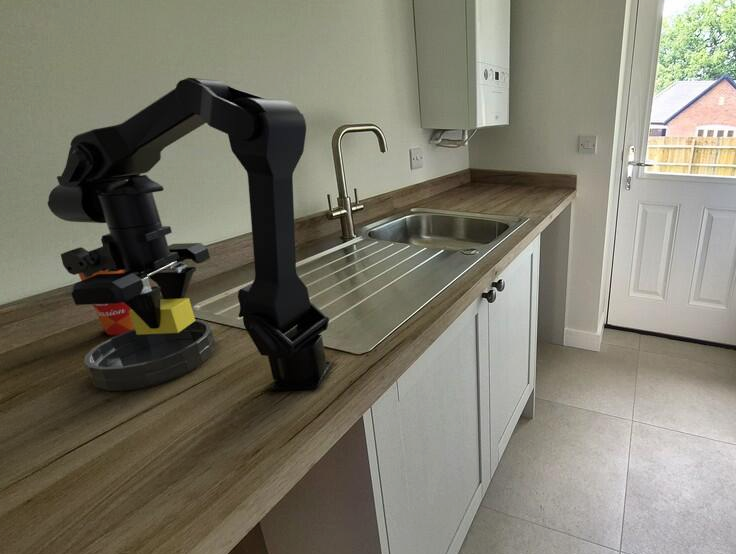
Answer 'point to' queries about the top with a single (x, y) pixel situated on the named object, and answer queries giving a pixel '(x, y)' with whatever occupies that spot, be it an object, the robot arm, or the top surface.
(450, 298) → the top surface
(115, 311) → the paper cup
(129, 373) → the pan
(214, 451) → the top surface
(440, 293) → the top surface
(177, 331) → the sponge
